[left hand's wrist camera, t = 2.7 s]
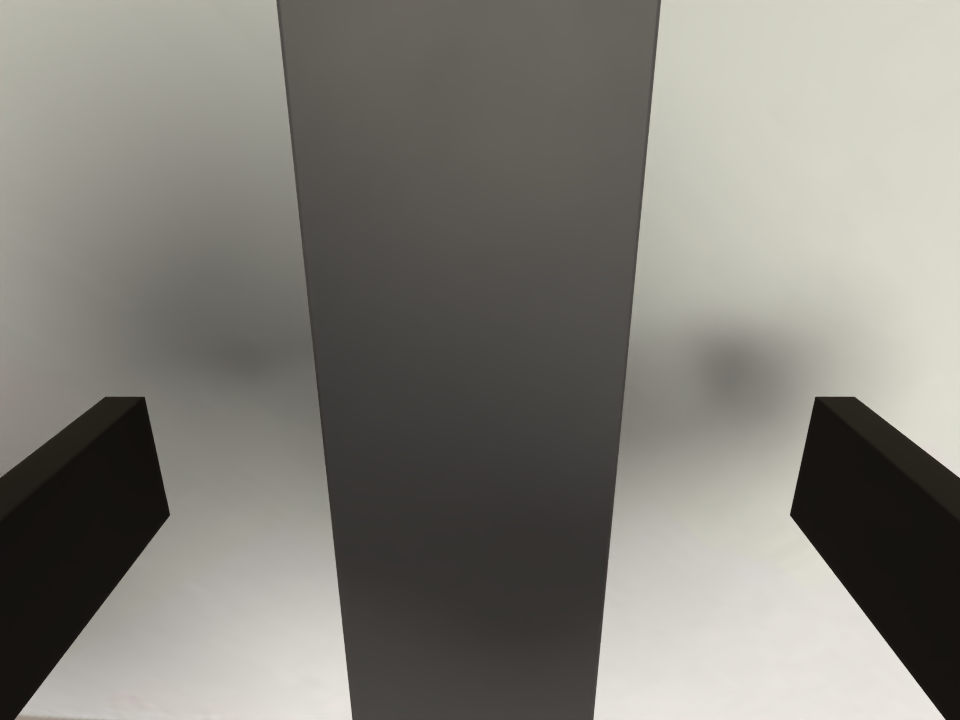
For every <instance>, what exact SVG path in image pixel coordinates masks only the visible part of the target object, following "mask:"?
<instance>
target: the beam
mask: <svg viewBox="0 0 960 720" xmlns="http://www.w3.org/2000/svg"><path fill="white" fill-rule="evenodd" d="M276 1H277V10H278V20H279V29H280V38H281V48H282V57H283V67H284V76H285V86H286V95H287V105H288V114H289V124H290V133H291V142H292V152H293V161H294V171H295V180H296V190H297V199H298V209H299V218H300V228H301V237H302V246H303V256H304V265H305V275H306V284H307V294H308V303H309V313H310V322H311V332H312V341H313V350H314V360H315V369H316V379H317V388H318V398H319V407H320V417H321V426H322V435H323V445H324V454H325V464H326V473H327V483H328V492H329V502H330V511H331V521H332V530H333V539H334V549H335V558H336V568H337V577H338V587H339V596H340V606H341V615H342V625H343V634H344V643H345V653H346V662H347V672H348V681H349V691H350V700H351V710H352V719H353V720H593V717H594V707H595V696H596V685H597V675H598V664H599V654H600V643H601V632H602V622H603V611H604V601H605V590H606V579H607V569H608V558H609V547H610V537H611V526H612V516H613V505H614V494H615V484H616V473H617V462H618V452H619V441H620V431H621V420H622V409H623V399H624V388H625V377H626V367H627V356H628V346H629V335H630V324H631V314H632V303H633V293H634V282H635V271H636V261H637V250H638V239H639V229H640V218H641V208H642V197H643V186H644V176H645V165H646V154H647V144H648V133H649V123H650V112H651V101H652V91H653V80H654V69H655V59H656V48H657V38H658V27H659V16H660V6H661V0H276Z"/></svg>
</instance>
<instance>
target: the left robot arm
mask: <svg viewBox="0 0 960 720" xmlns="http://www.w3.org/2000/svg"><path fill="white" fill-rule="evenodd" d="M169 516H170V513H169V508H168V503H167V499H166V494H165V489H164V485H163V480H162V475H161V471H160V466H159V461H158V457H157V452H156V448H155V443H154V438H153V434H152V429H151V424H150V420H149V415H148V410H147V406H146V401H145V397H105V398H103V399H102V400H101V401H99V402H98V403H97V404H96V405H94V406H93V407H92V408H90V409H89V410H88V411H86V412H85V413H84V414H83V415H81V416H80V417H79V418H77V419H76V420H75V421H74V422H72V423H71V424H70V425H68V426H67V427H66V428H64V429H63V430H62V431H61V432H59V433H58V434H57V435H55V436H54V437H53V438H52V439H50V440H49V441H48V442H46V443H45V444H44V445H42V446H41V447H40V448H39V449H37V450H36V451H35V452H33V453H32V454H31V455H29V456H28V457H27V458H26V459H24V460H23V461H22V462H20V463H19V464H18V465H17V466H15V467H14V468H13V469H11V470H10V471H9V472H7V473H6V474H5V475H4V476H2V477H1V478H0V720H15V718H16V717H17V716H18V714H19V713H20V712H21V710H22V709H23V708H24V706H25V705H26V704H27V702H28V701H29V700H30V698H31V697H32V696H33V695H34V693H35V692H36V691H37V689H38V688H39V687H40V685H41V684H42V683H43V681H44V680H45V679H46V677H47V676H48V675H49V674H50V672H51V671H52V670H53V668H54V667H55V666H56V664H57V663H58V662H59V660H60V659H61V658H62V656H63V655H64V654H65V652H66V651H67V650H68V649H69V647H70V646H71V645H72V643H73V642H74V641H75V639H76V638H77V637H78V635H79V634H80V633H81V631H82V630H83V629H84V627H85V626H86V625H87V624H88V622H89V621H90V620H91V618H92V617H93V616H94V614H95V613H96V612H97V610H98V609H99V608H100V606H101V605H102V604H103V603H104V601H105V600H106V599H107V597H108V596H109V595H110V593H111V592H112V591H113V589H114V588H115V587H116V585H117V584H118V583H119V581H120V580H121V579H122V578H123V576H124V575H125V574H126V572H127V571H128V570H129V568H130V567H131V566H132V564H133V563H134V562H135V560H136V559H137V558H138V557H139V555H140V554H141V553H142V551H143V550H144V549H145V547H146V546H147V545H148V543H149V542H150V541H151V539H152V538H153V537H154V535H155V534H156V533H157V532H158V530H159V529H160V528H161V526H162V525H163V524H164V522H165V521H166V520H167V518H168V517H169ZM790 516H791V517H792V518H793V520H794V521H795V522H796V524H797V525H798V526H799V528H800V529H801V530H802V532H803V533H804V534H805V535H806V537H807V538H808V539H809V541H810V542H811V543H812V545H813V546H814V547H815V549H816V550H817V551H818V553H819V554H820V555H821V557H822V558H823V559H824V560H825V562H826V563H827V564H828V566H829V567H830V568H831V570H832V571H833V572H834V574H835V575H836V576H837V578H838V579H839V580H840V581H841V583H842V584H843V585H844V587H845V588H846V589H847V591H848V592H849V593H850V595H851V596H852V597H853V599H854V600H855V601H856V603H857V604H858V605H859V606H860V608H861V609H862V610H863V612H864V613H865V614H866V616H867V617H868V618H869V620H870V621H871V622H872V624H873V625H874V626H875V627H876V629H877V630H878V631H879V633H880V634H881V635H882V637H883V638H884V639H885V641H886V642H887V643H888V645H889V646H890V647H891V649H892V650H893V651H894V652H895V654H896V655H897V656H898V658H899V659H900V660H901V662H902V663H903V664H904V666H905V667H906V668H907V670H908V671H909V672H910V674H911V675H912V676H913V677H914V679H915V680H916V681H917V683H918V684H919V685H920V687H921V688H922V689H923V691H924V692H925V693H926V695H927V696H928V697H929V698H930V700H931V701H932V702H933V704H934V705H935V706H936V708H937V709H938V710H939V712H940V713H941V714H942V716H943V717H944V718H945V720H960V478H959V477H958V476H956V475H955V474H954V473H953V472H951V471H950V470H949V469H947V468H946V467H945V466H943V465H942V464H941V463H940V462H938V461H937V460H936V459H934V458H933V457H932V456H931V455H929V454H928V453H927V452H925V451H924V450H923V449H921V448H920V447H919V446H918V445H916V444H915V443H914V442H912V441H911V440H910V439H908V438H907V437H906V436H905V435H903V434H902V433H901V432H899V431H898V430H897V429H896V428H894V427H893V426H892V425H890V424H889V423H888V422H886V421H885V420H884V419H883V418H881V417H880V416H879V415H877V414H876V413H875V412H874V411H872V410H871V409H870V408H868V407H867V406H866V405H864V404H863V403H862V402H861V401H859V400H858V399H857V398H855V397H815V401H814V406H813V410H812V415H811V420H810V424H809V429H808V434H807V438H806V443H805V448H804V452H803V457H802V461H801V466H800V471H799V475H798V480H797V485H796V489H795V494H794V499H793V503H792V508H791V513H790Z"/></svg>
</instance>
